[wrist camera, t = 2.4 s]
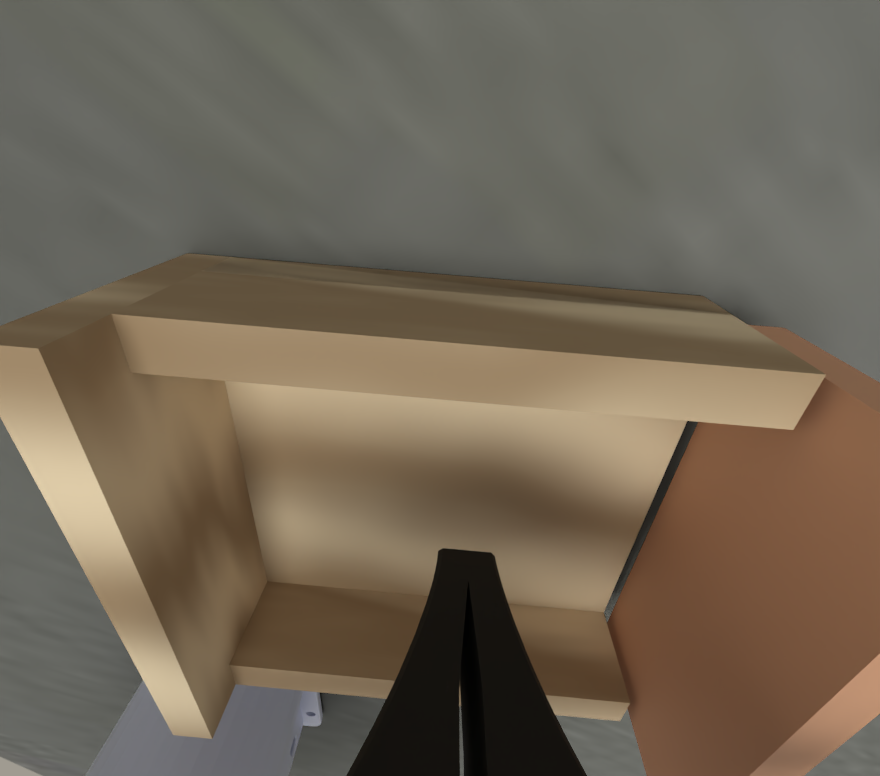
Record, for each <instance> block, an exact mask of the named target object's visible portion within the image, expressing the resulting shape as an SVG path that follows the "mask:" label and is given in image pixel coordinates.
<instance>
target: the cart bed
mask: <svg viewBox="0 0 880 776" xmlns="http://www.w3.org/2000/svg"><path fill="white" fill-rule="evenodd" d="M825 376H826V374H824V373H823V372H821V371H820V370H818V369H817V368H815V367H813V366H812V365H810V364H809V363H807V362H806V361H804V360H802V359H801V358H799V357H798V356H796V355H795V354H793V353H791V352H790V351H788V350H787V349H785V348H784V347H782V346H780V345H779V344H777V343H776V342H774V341H773V340H771V339H770V338H768V337H766V336H765V335H763V334H762V333H760V332H759V331H757V330H755V329H754V328H752V327H751V326H749V325H748V324H746V323H744V322H743V321H741V320H740V319H738V318H737V317H735V316H733V315H732V314H730V313H729V312H727V311H726V310H724V309H722V308H721V307H719V306H718V305H716V304H715V303H713V302H711V301H710V300H708V299H707V298H705V297H704V296H697V295H685V294H673V293H661V292H649V291H637V290H624V289H612V288H600V287H588V286H576V285H564V284H552V283H540V282H528V281H516V280H504V279H492V278H480V277H468V276H456V275H444V274H431V273H419V272H407V271H395V270H383V269H371V268H359V267H347V266H335V265H323V264H311V263H299V262H287V261H275V260H263V259H250V258H238V257H226V256H214V255H202V254H190V253H187V254H184V255H182V256H179V257H177V258H174V259H172V260H169V261H166V262H164V263H161V264H159V265H156V266H153V267H151V268H148V269H146V270H143V271H141V272H138V273H135V274H133V275H130V276H128V277H125V278H123V279H120V280H117V281H115V282H112V283H110V284H107V285H105V286H102V287H99V288H97V289H94V290H92V291H89V292H87V293H84V294H81V295H79V296H76V297H74V298H71V299H69V300H66V301H63V302H61V303H58V304H56V305H53V306H50V307H48V308H45V309H43V310H40V311H38V312H35V313H32V314H30V315H27V316H25V317H22V318H20V319H17V320H14V321H12V322H9V323H7V324H4V325H2V326H0V417H1V419H2V421H3V423H4V425H5V426H6V428H7V430H8V432H9V434H10V436H11V438H12V439H13V441H14V443H15V445H16V447H17V449H18V450H19V452H20V454H21V456H22V458H23V460H24V461H25V463H26V465H27V467H28V469H29V471H30V473H31V474H32V476H33V478H34V480H35V482H36V484H37V485H38V487H39V489H40V491H41V493H42V495H43V496H44V498H45V500H46V502H47V504H48V506H49V507H50V509H51V511H52V513H53V515H54V517H55V519H56V520H57V522H58V524H59V526H60V528H61V530H62V531H63V533H64V535H65V537H66V539H67V541H68V542H69V544H70V546H71V548H72V550H73V552H74V553H75V555H76V557H77V559H78V561H79V563H80V565H81V566H82V568H83V570H84V572H85V574H86V576H87V577H88V579H89V581H90V583H91V585H92V587H93V588H94V590H95V592H96V594H97V596H98V598H99V599H100V601H101V603H102V605H103V607H104V609H105V611H106V612H107V614H108V616H109V618H110V620H111V622H112V623H113V625H114V627H115V629H116V631H117V633H118V634H119V636H120V638H121V640H122V642H123V644H124V645H125V647H126V649H127V651H128V653H129V655H130V657H131V658H132V660H133V662H134V664H135V666H136V668H137V669H138V671H139V673H140V675H141V677H142V679H143V680H144V682H145V684H146V686H147V688H148V690H149V692H150V693H151V695H152V697H153V699H154V701H155V703H156V704H157V706H158V708H159V710H160V712H161V714H162V715H163V717H164V719H165V721H166V723H167V725H168V726H169V728H170V730H171V732H172V734H173V735H177V736H187V737H197V738H208V739H213V736H214V734H215V732H216V729H217V727H218V725H219V722H220V720H221V718H222V715H223V713H224V711H225V708H226V706H227V704H228V701H229V699H230V697H231V694H232V692H233V689H234V687H235V685H236V684H237V685H248V686H258V687H269V688H279V689H290V690H300V691H310V692H321V693H331V694H342V695H352V696H363V697H373V698H384V699H387V697H388V695H389V693H390V691H391V688H392V686H393V684H394V682H395V680H396V678H397V675H398V673H399V671H400V669H401V666H402V664H403V661H404V659H405V657H406V654H407V652H408V650H409V647H410V645H411V643H412V640H413V638H414V635H415V633H416V630H417V627H418V624H419V622H420V619H421V616H422V613H423V610H424V608H425V605H426V602H427V599H428V595H429V592H430V589H431V585H432V582H433V578H434V574H435V569H436V564H437V557H438V551H439V550H441V549H442V548H447V549H458V550H469V551H480V552H491V553H492V554H493V555H494V556H495V559H496V564H497V568H498V572H499V576H500V579H501V583H502V586H503V589H504V592H505V595H506V598H507V601H508V604H509V607H510V610H511V613H512V616H513V619H514V621H515V624H516V627H517V629H518V632H519V634H520V637H521V639H522V642H523V644H524V647H525V649H526V652H527V654H528V657H529V659H530V661H531V664H532V666H533V668H534V671H535V673H536V675H537V677H538V680H539V682H540V684H541V686H542V688H543V691H544V693H545V695H546V697H547V699H548V701H549V703H550V706H551V708H552V710H553V712H554V714H555V715H562V716H572V717H583V718H593V719H604V720H614V721H620V720H621V718H622V717H623V715H624V713H625V711H626V710H627V708H628V706H629V705H630V700H629V697H628V693H627V690H626V686H625V683H624V680H623V676H622V673H621V669H620V666H619V663H618V659H617V656H616V652H615V649H614V646H613V642H612V639H611V635H610V632H609V629H608V625H607V622H606V618H605V615H604V611H605V608H606V606H607V604H608V601H609V599H610V597H611V595H612V592H613V590H614V588H615V585H616V583H617V581H618V579H619V576H620V574H621V572H622V569H623V567H624V565H625V563H626V560H627V558H628V556H629V553H630V551H631V549H632V546H633V544H634V542H635V540H636V537H637V535H638V533H639V530H640V528H641V526H642V524H643V521H644V519H645V517H646V514H647V512H648V510H649V508H650V505H651V503H652V501H653V498H654V496H655V494H656V492H657V489H658V487H659V485H660V482H661V480H662V478H663V476H664V473H665V471H666V469H667V466H668V464H669V462H670V459H671V457H672V455H673V453H674V450H675V448H676V446H677V443H678V441H679V439H680V437H681V434H682V432H683V430H684V427H685V425H686V423H687V421H695V422H707V423H718V424H730V425H741V426H753V427H764V428H776V429H787V430H794V428H795V426H796V425H797V423H798V421H799V420H800V418H801V416H802V415H803V413H804V411H805V409H806V408H807V406H808V404H809V403H810V401H811V399H812V398H813V396H814V394H815V393H816V391H817V389H818V388H819V386H820V384H821V383H822V381H823V379H824V378H825ZM459 706H461V693H460V685H459Z"/></svg>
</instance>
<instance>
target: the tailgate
mask: <svg viewBox="0 0 880 776" xmlns="http://www.w3.org/2000/svg"><path fill="white" fill-rule="evenodd" d="M749 326H751V327H752V328H754V329H755V330H757V331H759V332H760V333H762V334H763V335H765V336H766V337H768V338H770V339H771V340H773V341H774V342H776V343H777V344H779V345H780V346H782V347H784V348H785V349H787V350H788V351H790V352H791V353H793V354H795V355H796V356H798V357H799V358H801V359H802V360H804V361H806V362H807V363H809V364H810V365H812V366H813V367H815V368H817V369H818V370H820V371H821V372H823V373H824V374H826V376H825V378H824V379H823V381H822V383H821V384H820V386H819V388H818V389H817V391H816V393H815V394H814V396H813V398H812V399H811V401H810V403H809V404H808V406H807V408H806V409H805V411H804V413H803V415H802V416H801V418H800V420H799V421H798V423H797V425H796V426H795V428H794V430H787V429H776V428H764V427H753V426H741V425H730V424H718V423H707V422H698V424H697V426H696V428H695V430H694V433H693V435H692V437H691V439H690V441H689V444H688V446H687V448H686V450H685V452H684V455H683V457H682V459H681V461H680V463H679V466H678V468H677V470H676V472H675V474H674V477H673V479H672V481H671V483H670V486H669V488H668V490H667V492H666V494H665V497H664V499H663V501H662V503H661V505H660V508H659V510H658V512H657V514H656V516H655V519H654V521H653V523H652V525H651V527H650V530H649V532H648V534H647V536H646V538H645V541H644V543H643V545H642V547H641V550H640V552H639V554H638V556H637V558H636V561H635V563H634V565H633V567H632V569H631V572H630V574H629V576H628V578H627V580H626V583H625V585H624V587H623V589H622V591H621V594H620V596H619V598H618V600H617V602H616V605H615V607H614V609H613V611H612V614H611V616H610V618H609V620H608V622H607V625H608V629H609V632H610V635H611V639H612V642H613V646H614V649H615V652H616V656H617V659H618V663H619V666H620V669H621V673H622V676H623V680H624V683H625V686H626V690H627V693H628V697H629V700H630V705H629V706H628V711H629V715H630V718H631V722H632V725H633V729H634V732H635V736H636V739H637V743H638V746H639V750H640V753H641V757H642V760H643V764H644V767H645V771H646V774H647V776H804V775H805V774H806V773H808V772H809V771H810V770H811V769H812V768H814V767H815V766H816V765H817V764H819V763H820V762H821V761H822V760H823V759H825V758H826V757H827V756H828V755H830V754H831V753H832V752H833V751H834V750H836V749H837V748H838V747H839V746H841V745H842V744H843V743H844V742H846V741H847V740H848V739H849V738H850V737H852V736H853V735H854V734H855V733H857V732H858V731H859V730H860V729H861V728H863V727H864V726H865V725H866V724H868V723H869V722H870V721H871V720H872V719H874V718H875V717H876V716H877V715H879V714H880V383H879V382H878V381H876V380H874V379H872V378H871V377H869V376H867V375H865V374H864V373H862V372H860V371H858V370H857V369H855V368H853V367H852V366H850V365H848V364H846V363H845V362H843V361H841V360H839V359H838V358H836V357H834V356H832V355H831V354H829V353H827V352H825V351H824V350H822V349H820V348H818V347H817V346H815V345H813V344H811V343H810V342H808V341H806V340H805V339H803V338H801V337H799V336H798V335H796V334H794V333H792V332H791V331H789V330H787V329H785V328H779V327H767V326H755V325H749Z"/></svg>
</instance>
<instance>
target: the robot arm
mask: <svg viewBox="0 0 880 776" xmlns="http://www.w3.org/2000/svg"><path fill="white" fill-rule="evenodd" d="M459 685H460V693H461V712H462V731H463V750H464V776H587V775H586V773H585V771H584V769H583V767H582V766H581V764H580V762H579V760H578V758H577V756H576V755H575V753H574V751H573V749H572V747H571V745H570V743H569V741H568V739H567V737H566V736H565V734H564V732H563V730H562V728H561V726H560V724H559V722H558V720H557V718H556V716H555V714H554V712H553V710H552V708H551V706H550V703H549V701H548V699H547V697H546V695H545V693H544V691H543V688H542V686H541V684H540V682H539V680H538V677H537V675H536V673H535V671H534V668H533V666H532V664H531V661H530V659H529V657H528V654H527V652H526V649H525V647H524V644H523V642H522V639H521V637H520V634H519V632H518V629H517V627H516V624H515V621H514V619H513V616H512V613H511V610H510V607H509V604H508V601H507V598H506V595H505V592H504V589H503V586H502V583H501V579H500V576H499V572H498V568H497V564H496V559H495V556H494V555H493V554H492V553H491V552H480V551H469V550H458V549H447V548H442V549H441V550H439V551H438V557H437V564H436V569H435V574H434V578H433V582H432V585H431V589H430V592H429V595H428V599H427V602H426V605H425V608H424V610H423V613H422V616H421V619H420V622H419V624H418V627H417V630H416V633H415V635H414V638H413V640H412V643H411V645H410V647H409V650H408V652H407V654H406V657H405V659H404V661H403V664H402V666H401V669H400V671H399V673H398V675H397V678H396V680H395V682H394V684H393V686H392V688H391V691H390V693H389V695H388V697H387V699H386V701H385V703H384V705H383V707H382V709H381V711H380V713H379V715H378V717H377V719H376V721H375V723H374V725H373V727H372V729H371V731H370V733H369V735H368V737H367V738H366V740H365V742H364V744H363V746H362V748H361V750H360V752H359V754H358V755H357V757H356V759H355V761H354V763H353V765H352V767H351V768H350V770H349V772H348V774H347V776H460V763H459ZM322 718H323V713H322V706H321V699H320V693H319V692H310V691H300V690H290V689H279V688H269V687H258V686H248V685H237V684H236V685H235V687H234V689H233V692H232V694H231V697H230V699H229V701H228V704H227V706H226V708H225V711H224V713H223V715H222V718H221V720H220V722H219V725H218V727H217V729H216V732H215V734H214V736H213V739H208V738H197V737H187V736H177V735H173V734H172V732H171V730H170V728H169V726H168V725H167V723H166V721H165V719H164V717H163V715H162V714H161V712H160V710H159V708H158V706H157V704H156V703H155V701H154V699H153V697H152V695H151V693H150V692H149V690H148V688H147V686H146V684H145V682H144V680H143V681H142V682H141V684H140V686H139V687H138V689H137V691H136V692H135V694H134V695H133V697H132V699H131V700H130V702H129V704H128V705H127V707H126V709H125V710H124V712H123V714H122V715H121V717H120V719H119V720H118V722H117V724H116V725H115V727H114V729H113V730H112V732H111V734H110V735H109V737H108V738H107V740H106V742H105V743H104V745H103V747H102V748H101V750H100V752H99V753H98V755H97V757H96V758H95V760H94V762H93V763H92V765H91V767H90V768H89V770H88V772H87V773H86V775H85V776H289V773H290V770H291V766H292V762H293V759H294V755H295V752H296V748H297V745H298V741H299V738H300V734H301V730H302V727H303V725H304V726H319V725H320V724H321V722H322Z"/></svg>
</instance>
